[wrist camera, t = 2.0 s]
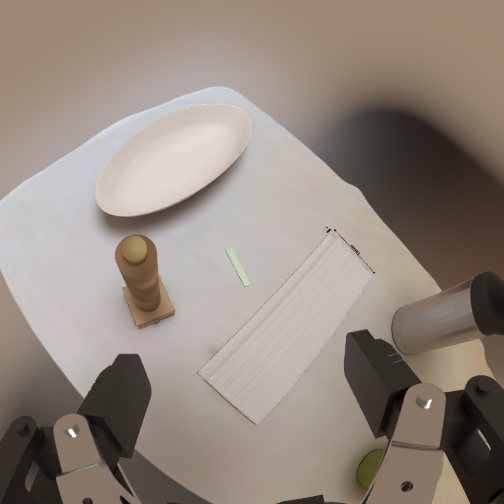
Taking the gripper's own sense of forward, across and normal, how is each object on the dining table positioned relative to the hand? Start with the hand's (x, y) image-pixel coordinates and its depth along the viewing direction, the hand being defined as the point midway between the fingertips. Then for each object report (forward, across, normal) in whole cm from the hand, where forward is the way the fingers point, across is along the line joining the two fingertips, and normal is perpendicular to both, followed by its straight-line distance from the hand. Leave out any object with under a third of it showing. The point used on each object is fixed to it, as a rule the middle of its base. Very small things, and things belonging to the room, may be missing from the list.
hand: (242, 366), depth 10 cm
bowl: (+38, +9, -9) cm, 40 cm away
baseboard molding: (+28, -6, +14) cm, 31 cm away
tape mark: (+30, +1, +6) cm, 30 cm away
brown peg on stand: (+23, +13, +7) cm, 28 cm away
